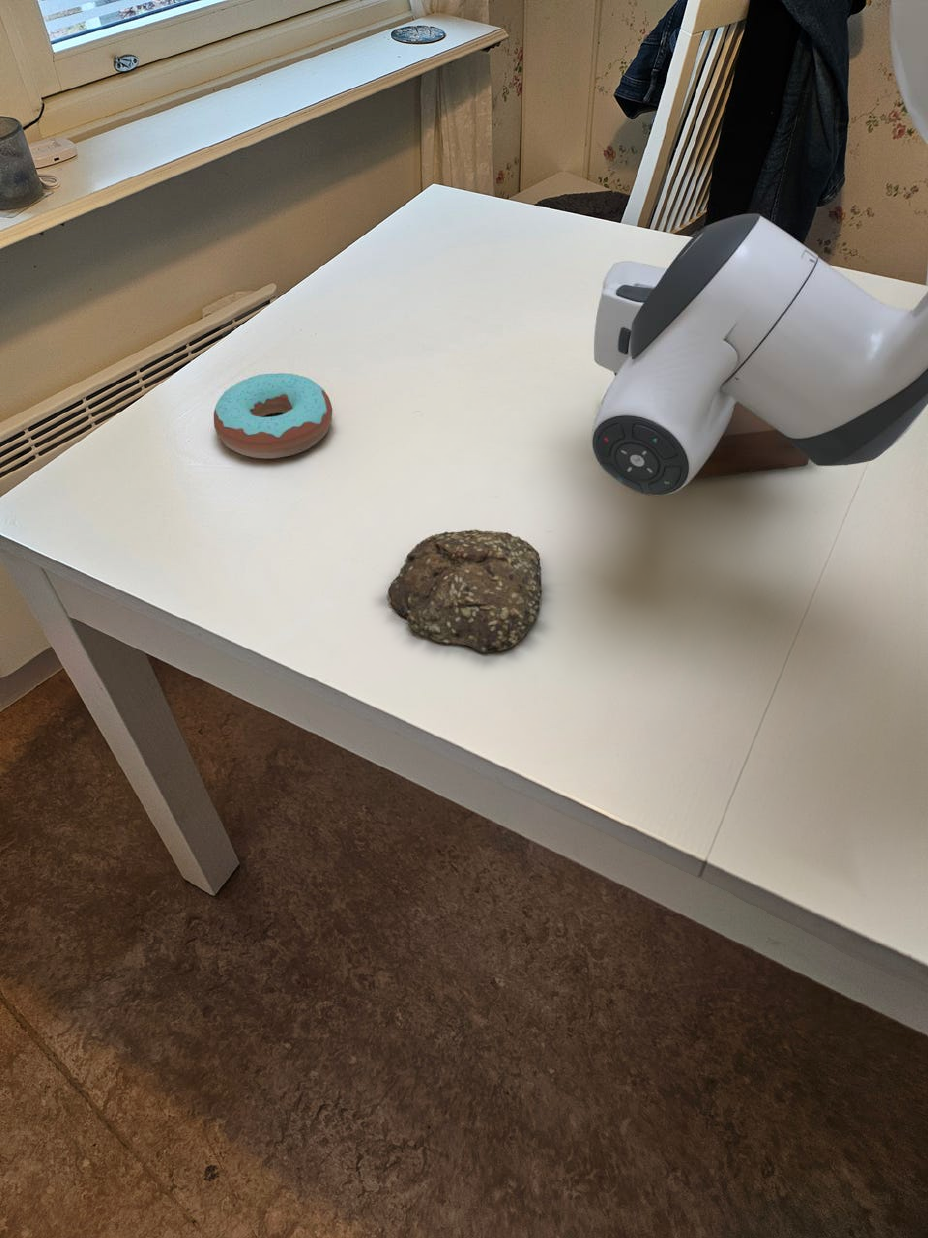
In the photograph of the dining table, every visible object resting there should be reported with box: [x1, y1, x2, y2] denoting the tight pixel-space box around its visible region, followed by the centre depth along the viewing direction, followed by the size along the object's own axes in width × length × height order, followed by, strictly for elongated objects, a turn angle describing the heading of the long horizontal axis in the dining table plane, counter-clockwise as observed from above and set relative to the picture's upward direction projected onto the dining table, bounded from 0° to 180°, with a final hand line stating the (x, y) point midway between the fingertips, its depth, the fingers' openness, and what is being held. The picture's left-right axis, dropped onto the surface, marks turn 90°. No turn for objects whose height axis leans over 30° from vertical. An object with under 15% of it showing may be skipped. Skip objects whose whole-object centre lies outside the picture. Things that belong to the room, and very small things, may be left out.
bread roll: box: [387, 529, 543, 654], centre depth 71 cm, size 13×12×5 cm
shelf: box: [613, 372, 810, 480], centre depth 86 cm, size 16×14×8 cm
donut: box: [213, 372, 333, 460], centre depth 88 cm, size 12×12×4 cm
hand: (741, 276), depth 77 cm, fingers closed on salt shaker, 3 cm apart
